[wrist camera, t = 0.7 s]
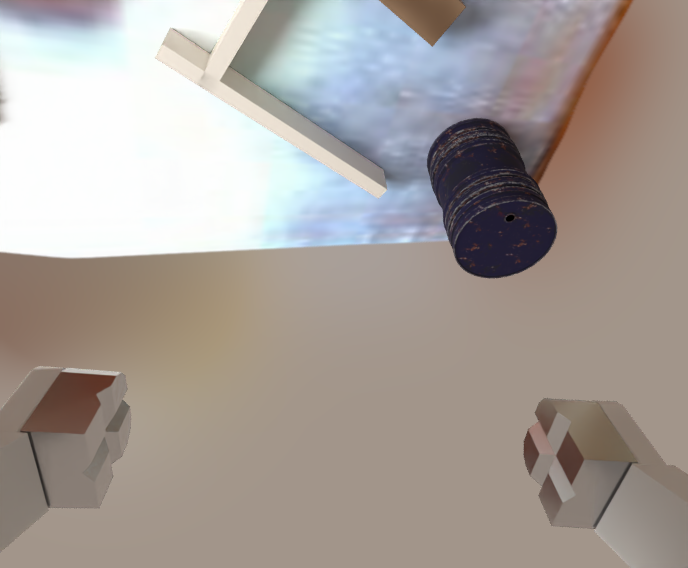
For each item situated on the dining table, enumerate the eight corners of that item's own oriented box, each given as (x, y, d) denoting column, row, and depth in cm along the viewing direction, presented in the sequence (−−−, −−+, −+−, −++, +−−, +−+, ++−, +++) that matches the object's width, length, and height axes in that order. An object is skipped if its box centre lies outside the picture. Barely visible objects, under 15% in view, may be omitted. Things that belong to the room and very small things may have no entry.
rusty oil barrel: (504, 189, 62) (545, 275, 51) (424, 196, 62) (448, 283, 51) (519, 113, 55) (570, 194, 44) (428, 120, 55) (458, 203, 44)
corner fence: (231, -96, 40) (226, -86, 38) (455, 91, 53) (464, 109, 50) (163, 41, 47) (155, 58, 45) (375, 178, 60) (378, 198, 57)
